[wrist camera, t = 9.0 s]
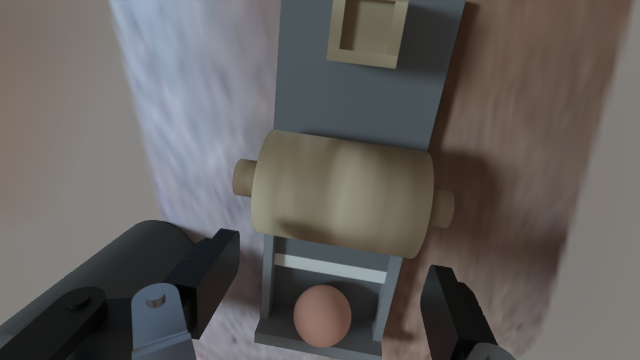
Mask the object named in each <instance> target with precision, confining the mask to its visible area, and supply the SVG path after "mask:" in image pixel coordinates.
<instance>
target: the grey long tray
mask: <svg viewBox="0 0 640 360" xmlns="http://www.w3.org/2000/svg"><path fill="white" fill-rule="evenodd" d="M465 1H466V0H409V3H408V8H407V13H406V18H405V23H404V28H403V33H402V38H401V43H400V49H399V54H398V59H397V64H396V69H393V68H385V67H377V66H369V65H361V64H354V63H346V62H338V61H330V60H326V58H327V50H328V41H329V32H330V23H331V14H332V6H333V0H281V13H280V30H279V47H278V65H277V82H276V99H275V116H274V130H280V131H287V132H294V133H301V134H308V135H315V136H322V137H329V138H336V139H343V140H350V141H357V142H363V143H370V144H377V145H384V146H391V147H398V148H405V149H412V150H419V151H426V152H427V150H428V146H429V142H430V138H431V134H432V130H433V126H434V122H435V118H436V114H437V111H438V107H439V103H440V99H441V95H442V91H443V87H444V83H445V79H446V75H447V72H448V68H449V64H450V60H451V56H452V52H453V48H454V44H455V40H456V36H457V33H458V29H459V25H460V21H461V17H462V13H463V9H464V5H465ZM402 260H403V257H398V256H392V255H386V254H380V253H374V252H368V251H362V250H356V249H350V248H345V247H339V246H333V245H327V244H321V243H315V242H309V241H303V240H297V239H291V238H285V237H280V236H274V235H268V234H265V235H264V254H263V272H262V291H261V309H260V320H259V323H258V325H257V328H256V331H255V341H254V342H255V343H260V344H265V345H271V346H276V347H281V348H286V349H291V350H296V351H301V352H306V353H312V354H317V355H322V356H327V357H332V358H337V359H342V360H381V359H382V349H381V340H382V336H383V333H384V329H385V325H386V321H387V317H388V314H389V310H390V306H391V302H392V298H393V294H394V291H395V287H396V283H397V279H398V275H399V271H400V268H401V264H402ZM316 285H329V286H332V287H334V288H336V289H338V290H339V291H340V292H341V293H343V295H344V296H345V297H346V299H347V301H348V303H349V305H350V309H351V324H350V327H349V330H348V332H347V334H346V335H345V337H344V338H343V339H342V340H341V341H340V342H338V343H337V344H335V345H333V346H330V347H325V348H320V347H315V346H312V345H310V344H308V343H307V342H305V341H304V340H303V339H302V338H301V336H300V335H299V334H298V332H297V330H296V327H295V324H294V308H295V305H296V302H297V300H298V298H299V297H300V296H301V294H302V293H303V292H304V291H306V290H307V289H309V288H310V287H313V286H316Z"/></svg>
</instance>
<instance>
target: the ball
mask: <svg viewBox="0 0 640 360" xmlns="http://www.w3.org/2000/svg"><path fill="white" fill-rule="evenodd" d="M294 324H295V327H296V330H297V332H298V334H299V335H300V336H301V338H302V339H303V340H304V341H305V342H307V343H308V344H310V345H312V346H315V347H320V348H325V347H330V346H333V345H335V344H337V343H338V342H340V341H341V340H342V339H343V338H344V337H345V335H346V334H347V332H348V330H349V327H350V324H351V309H350V305H349V303H348V301H347V299H346V297H345V296H344V295H343V293H341V292H340V291H339V290H338V289H336V288H334V287H332V286H329V285H316V286H313V287H310V288H309V289H307V290H306V291H304V292H303V293H302V294H301V296H300V297H299V298H298V300H297V302H296V305H295V308H294Z"/></svg>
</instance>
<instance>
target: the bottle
mask: <svg viewBox="0 0 640 360" xmlns="http://www.w3.org/2000/svg"><path fill="white" fill-rule="evenodd" d="M192 247H193V244H192V242H191V241H190V240H189V238H188V237H187V236H186V235H185V234H184V233H183V232H182V231H181V230H179V229H178V228H176V227H175V226H173V225H171V224H168V223H166V222H163V221H158V220H148V221H143V222H140V223H138V224H136V225H135V226H133V227H132V228H130V229H129V230H127V231H126V232H124V233H123V234H122V235H120V236H119V237H118V238H117V239H115V240H114V241H112V242H111V243H110V244H108V245H107V246H106V247H104V248H103V249H102V250H100V251H99V252H98V253H96V254H95V255H94V256H92V257H91V258H90V259H88V260H87V261H86V262H84V263H83V264H82V265H80V266H79V267H78V268H76V269H75V270H74V271H73V272H71V273H70V274H68V275H67V276H65V277H64V278H63V279H62V280H60V281H59V282H57V283H56V284H55V285H54V286H52V287H51V288H50V289H49V290H47V291H46V292H44V293H43V294H42V295H40V296H39V297H38V298H36V299H35V300H34V301H32V302H31V303H30V304H28V305H27V306H26V307H25V308H23V309H22V310H20V311H19V312H18V313H16V314H15V315H14V316H12V317H11V318H10V319H8V320H7V321H6V322H4V323H3V324H2V325H1V326H0V349H1V348H2V347H3V346H4V345H5V344H6V343H8V342H9V341H10V340H11V339H12V338H13V337H14V336H16V335H17V334H18V333H19V332H20V331H21V330H22V329H24V328H25V327H26V326H27V325H28V324H29V323H31V322H32V321H33V320H34V319H35V318H36V317H37V316H39V315H40V314H41V313H42V312H43V311H44V310H45V309H47V308H48V307H49V306H50V305H51V304H52V303H53V302H55V301H56V300H57V299H58V298H59V297H61V296H62V295H64V294H66V293H68V292H70V291H72V290H75V289H78V288H82V287H99V288H101V289H103V290H104V291H105V294H106V299H118V298H131V297H134V296H135V294H136V293H137V292H139V291H140V290H141V289H143V288H145V287H147V286H149V285H153V284H157V283H161V282H162V281H163V280H164V279H165V278H166V277H167V276H168V274H169V273H170V272H171V271H172V270H173V269H174V268H175V266H176V265H177V264H178V263H179V262H180V261H181V260H182V259H183V257H184V256H185V255H186V254H187V253H188V252H189V251H190V249H191V248H192Z"/></svg>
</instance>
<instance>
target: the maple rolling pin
mask: <svg viewBox="0 0 640 360" xmlns="http://www.w3.org/2000/svg"><path fill="white" fill-rule="evenodd" d="M232 186H233V192H234V194H235V195H240V196H246V197H251V219H252V225H253V228H254V230H255V232H257V233H262V234H268V235H274V236H280V237H285V238H291V239H297V240H303V241H309V242H315V243H321V244H327V245H333V246H339V247H345V248H350V249H356V250H362V251H368V252H374V253H380V254H386V255H392V256H398V257H404V258H410V259H413V258H414V257H415V256H416V255H417V254H418V252H419V251H420V249H421V246H422V244H423V241H424V239H425V235H426V232H427V228H428V226H432V227H438V228H445V229H446V228H448V227H449V225H450V223H451V221H452V218H453V215H454V209H455V198H454V194H453V192H452V191H450V190H444V189H437V188H434V170H433V162H432V158H431V156H430V154H429V153H428V152H426V151H419V150H412V149H405V148H398V147H391V146H384V145H377V144H370V143H363V142H357V141H350V140H343V139H336V138H329V137H322V136H315V135H308V134H301V133H294V132H287V131H280V130H271V131H270V132H269V133H268V135H267V136H266V138H265V140H264V142H263V145H262V147H261V150H260V153H259V157H258V161H254V160H247V159H240V160H239V161H238V162H237V164H236V167H235V170H234V174H233V181H232Z"/></svg>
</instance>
